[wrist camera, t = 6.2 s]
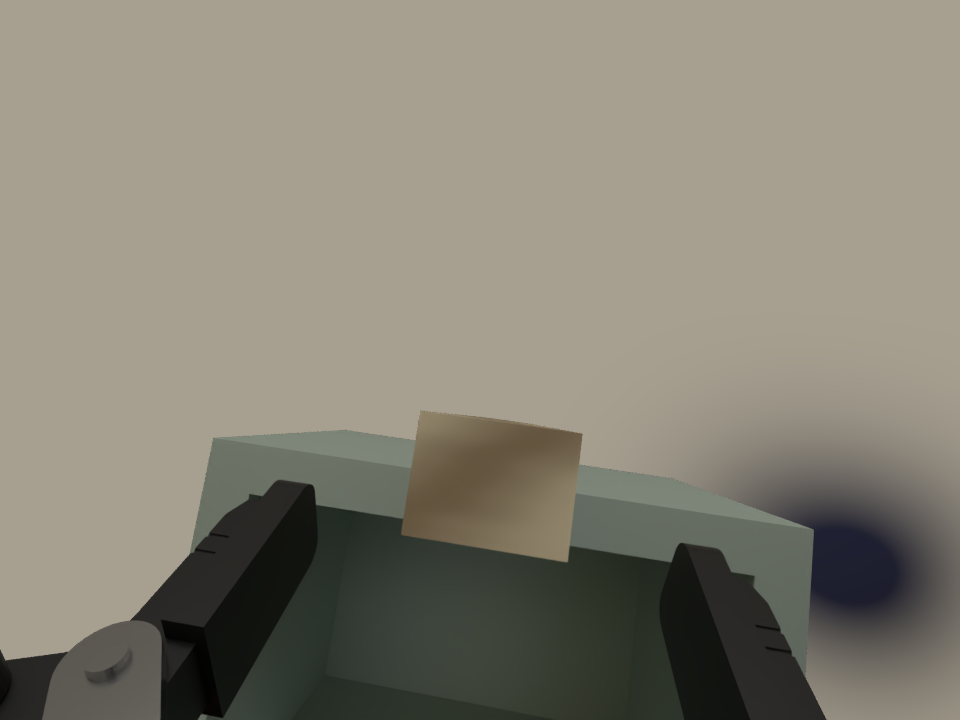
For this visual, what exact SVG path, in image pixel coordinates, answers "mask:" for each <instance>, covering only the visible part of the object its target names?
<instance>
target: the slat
mask: <svg viewBox="0 0 960 720" xmlns="http://www.w3.org/2000/svg"><path fill="white" fill-rule="evenodd" d="M581 442H582V434H581V433H575V432H570V431H565V430H560V429H554V428H549V427H544V426H539V425H533V424H528V423H520V422H514V421H506V420H499V419H493V418H484V417H475V416H466V415H456V414H447V413H437V412H428V411H420V415H419V421H418V428H417V435H416V441H415V447H414V454H413V460H412V467H411V473H410V479H409V486H408V492H407V499H406V505H405V512H404V518H403V525H402V531H401V535H405V536H411V537H417V538H423V539H429V540H435V541H441V542H447V543H453V544H459V545H465V546H472V547H478V548H484V549H490V550H496V551H502V552H508V553H514V554H520V555H526V556H532V557H538V558H544V559H550V560H556V561H562V562H568V555H569V547H570V538H571V529H572V520H573V512H574V503H575V494H576V486H577V477H578V468H579V459H580V451H581Z"/></svg>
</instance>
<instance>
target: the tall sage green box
mask: <svg viewBox="0 0 960 720" xmlns="http://www.w3.org/2000/svg"><path fill="white" fill-rule="evenodd" d="M415 441H416V440H409V439H402V438H395V437H388V436H382V435H375V434H368V433H361V432H354V431H348V430H339V431H322V432H307V433H306V432H305V433H289V434H271V435H256V436H239V437H221V438H213V442H212V447H211V452H210V457H209V462H208V467H207V472H206V477H205V482H204V487H203V491H202V496H201V501H200V506H199V511H198V516H197V521H196V526H195V531H194V536H193V541H192V545H191V550H190V553H194V551H195V548H196V547H197V546H198V544H199V543H200V542H201V541H202V540H203V539H204V538H205V537H208V535H209V532H210V531H211V530H212V529H213V528H214V527H215V525H216V524H217V523H218V522H219V521H220V520H221V519H222V518H223V516H224V515H225V514H226V513H228V512H229V511H231V510H233V509H234V508H236V507H237V506H239V505H241V504H242V503H244V502H245V501H247V500H249V499H251V500H258V501H259V500H260V499H261V498H262V496H263V495H264V494H265V493H266V492H267V490H268V489H269V488H270V487H271V486H272V484H273V483H274V482H275V481H277V480H287V481H293V482H300V483H306V484H312V485H313V486H314V489H315V498H316V513H317V528H318V542H317V548H316V552H315V555H314V558H313V561H312V563H311V565H310V567H309V569H308V570H307V572H306V574H305V576H304V577H303V579H302V581H301V583H300V584H299V586H298V588H297V590H296V591H295V593H294V595H293V597H292V598H291V600H290V602H289V604H288V605H287V607H286V609H285V611H284V612H283V614H282V616H281V618H280V619H279V621H278V623H277V625H276V626H275V628H274V630H273V632H272V633H271V635H270V637H269V639H268V640H267V642H266V644H265V646H264V647H263V649H262V651H261V653H260V654H259V656H258V658H257V660H256V661H255V663H254V665H253V667H252V668H251V670H250V672H249V674H248V675H247V677H246V679H245V681H244V682H243V684H242V686H241V688H240V689H239V691H238V693H237V695H236V696H235V698H234V700H233V702H232V703H231V705H230V707H229V709H228V710H227V712H226V714H225V716H224V717H223V718H219V717H214V716H208V715H203V714H201V716H200V717H199V719H198V720H684V717H683V713H682V709H681V705H680V701H679V697H678V693H677V689H676V685H675V680H674V676H673V672H672V668H671V664H670V660H669V656H668V652H667V648H666V644H665V640H664V636H663V632H662V628H661V624H660V614H659V605H660V597H661V592H662V589H663V586H664V583H665V580H666V577H667V574H668V571H669V568H670V565H671V562H672V559H673V556H674V553H675V550H676V548H677V546H678V545H679V544H680V543H687V544H693V545H700V546H706V547H713V548H718V549H719V550H721V552H722V553H723V555H724V557H725V559H726V561H727V564H728V566H729V568H730V570H731V572H732V575H733V577H734V578H741V579H746V580H747V581H748V582H749V583H750V584H751V585H752V586H753V587H754V588H755V589H756V591H757V592H758V593H759V594H760V595H761V596H762V597H763V598H764V599H765V600H766V601H767V603H768V604H769V606H770V608H771V610H772V612H773V614H774V616H775V618H776V620H777V622H778V624H779V626H780V628H781V634H784V636H785V638H786V640H787V642H788V644H789V646H790V648H791V650H792V656H793V657H795V658H796V660H797V662H798V664H799V666H800V668H801V670H802V672H803V674H804V676H805V672H806V655H807V636H808V619H809V602H810V586H811V568H812V551H813V534H814V530H813V529H810V528H808V527H804V526H802V525H799V524H796V523H793V522H791V521H788V520H785V519H783V518H780V517H777V516H774V515H772V514H769V513H766V512H763V511H761V510H758V509H755V508H752V507H750V506H747V505H744V504H741V503H738V502H736V501H733V500H730V499H727V498H725V497H722V496H719V495H716V494H714V493H711V492H708V491H705V490H702V489H700V488H697V487H694V486H691V485H689V484H686V483H683V482H681V481H678V480H675V479H672V478H666V477H659V476H652V475H645V474H638V473H631V472H625V471H618V470H612V469H605V468H598V467H591V466H585V465H579V468H578V477H577V486H576V494H575V503H574V512H573V520H572V529H571V538H570V547H569V555H568V562H562V561H556V560H550V559H544V558H538V557H532V556H526V555H520V554H514V553H508V552H502V551H496V550H490V549H484V548H478V547H472V546H465V545H459V544H453V543H447V542H441V541H435V540H429V539H423V538H417V537H411V536H405V535H401V531H402V525H403V518H404V512H405V505H406V499H407V492H408V486H409V479H410V473H411V467H412V460H413V454H414V447H415Z"/></svg>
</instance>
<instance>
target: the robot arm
mask: <svg viewBox="0 0 960 720" xmlns="http://www.w3.org/2000/svg"><path fill="white" fill-rule="evenodd" d="M317 542H318V528H317V513H316V498H315V489H314V486H313V485H312V484H306V483H300V482H293V481H287V480H277V481H275V482H274V483H273V484H272V486H271V487H270V488H269V489H268V490H267V492H266V493H265V494H264V495H263V496H262V498H261V499H260V500H259V501H258V500H251V499H249V500H247V501H245V502H244V503H242V504H241V505H239V506H237V507H236V508H234V509H233V510H231V511H229V512H228V513H226V514H225V515H224V516H223V518H222V519H221V520H220V521H219V522H218V523H217V524H216V525H215V527H214V528H213V529H212V530H211V531H210V532H209V535H208V537H205V538H204V539H203V540H202V541H201V542H200V543H199V544H198V546H197V547H196V548H195V551H194V553H190V555H189V556H188V557H187V558H186V559H185V560H184V561H183V562H182V564H181V565H180V566H179V567H178V568H177V569H176V570H175V571H174V573H173V574H172V575H171V576H170V577H169V578H168V579H167V580H166V582H165V583H164V584H163V585H162V586H161V587H160V588H159V589H158V591H157V592H156V593H155V594H154V595H153V596H152V597H151V598H150V600H149V601H148V602H147V603H146V604H145V605H144V606H143V607H142V608H141V610H140V611H139V612H138V613H137V614H136V615H135V616H134V617H133V618H132V619H131V620H130V621H125V622H120V623H116V624H112V625H110V626H107V627H105V628H103V629H100V630H98V631H97V632H94V633H93V634H91V635H90V636H88V637H86V638H85V639H83V640H82V641H81V642H79V643H78V644H77V645H75V646H74V647H73V648H72V649H71V650H70V651H69V652H65V653H58V654H50V655H43V656H35V657H28V658H21V659H13V660H6V661H5V659H4V657H3V654H2V653H1V650H0V720H198V719H199V717H200V716H201V714H203V715H208V716H214V717H219V718H223V717H224V716H225V714H226V712H227V710H228V709H229V707H230V705H231V703H232V702H233V700H234V698H235V696H236V695H237V693H238V691H239V689H240V688H241V686H242V684H243V682H244V681H245V679H246V677H247V675H248V674H249V672H250V670H251V668H252V667H253V665H254V663H255V661H256V660H257V658H258V656H259V654H260V653H261V651H262V649H263V647H264V646H265V644H266V642H267V640H268V639H269V637H270V635H271V633H272V632H273V630H274V628H275V626H276V625H277V623H278V621H279V619H280V618H281V616H282V614H283V612H284V611H285V609H286V607H287V605H288V604H289V602H290V600H291V598H292V597H293V595H294V593H295V591H296V590H297V588H298V586H299V584H300V583H301V581H302V579H303V577H304V576H305V574H306V572H307V570H308V569H309V567H310V565H311V563H312V561H313V558H314V555H315V552H316V548H317ZM659 614H660V624H661V628H662V632H663V636H664V640H665V644H666V648H667V652H668V656H669V660H670V664H671V668H672V672H673V676H674V680H675V685H676V689H677V693H678V697H679V701H680V705H681V709H682V713H683V717H684V720H826V718H825V716H824V714H823V712H822V710H821V708H820V706H819V704H818V702H817V700H816V698H815V696H814V694H813V692H812V690H811V688H810V686H809V684H808V682H807V680H806V678H805V676H804V674H803V672H802V670H801V668H800V666H799V664H798V662H797V660H796V658H795V657H793V656H792V650H791V648H790V646H789V644H788V642H787V640H786V638H785V636H784V634H781V628H780V626H779V624H778V622H777V620H776V618H775V616H774V614H773V612H772V610H771V608H770V606H769V604H768V603H767V601H766V600H765V599H764V598H763V597H762V596H761V595H760V594H759V593H758V592H757V591H756V589H755V588H754V587H753V586H752V585H751V584H750V583H749V582H748V581H747V580H746V579H741V578H734V577H733V575H732V572H731V570H730V568H729V566H728V564H727V561H726V559H725V557H724V555H723V553H722V552H721V550H719V549H718V548H713V547H706V546H700V545H693V544H687V543H680V544H679V545H678V546H677V548H676V550H675V553H674V556H673V559H672V562H671V565H670V568H669V571H668V574H667V577H666V580H665V583H664V586H663V589H662V592H661V597H660V605H659Z"/></svg>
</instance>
